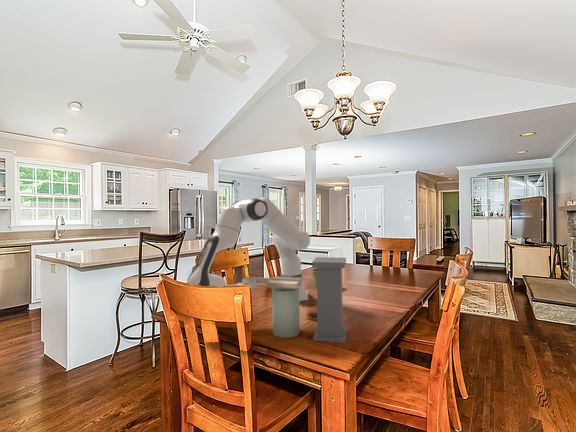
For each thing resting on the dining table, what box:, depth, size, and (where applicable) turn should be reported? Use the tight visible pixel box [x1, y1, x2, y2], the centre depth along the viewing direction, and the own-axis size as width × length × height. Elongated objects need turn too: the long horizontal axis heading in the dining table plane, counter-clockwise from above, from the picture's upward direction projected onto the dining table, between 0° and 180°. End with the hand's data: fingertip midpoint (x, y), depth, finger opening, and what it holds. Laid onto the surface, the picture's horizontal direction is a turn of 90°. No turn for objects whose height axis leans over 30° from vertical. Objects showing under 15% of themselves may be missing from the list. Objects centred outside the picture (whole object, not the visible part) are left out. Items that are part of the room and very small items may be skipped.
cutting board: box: [241, 275, 304, 289], centre depth 129 cm, size 12×24×2 cm, turn 77°
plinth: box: [311, 256, 348, 344], centre depth 123 cm, size 12×12×30 cm
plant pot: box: [311, 267, 317, 289], centre depth 200 cm, size 12×12×11 cm
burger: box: [306, 306, 317, 322], centre depth 144 cm, size 10×9×5 cm
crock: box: [271, 287, 301, 339], centre depth 128 cm, size 11×11×18 cm
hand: (259, 280), depth 130 cm, fingers closed on cutting board, 4 cm apart
